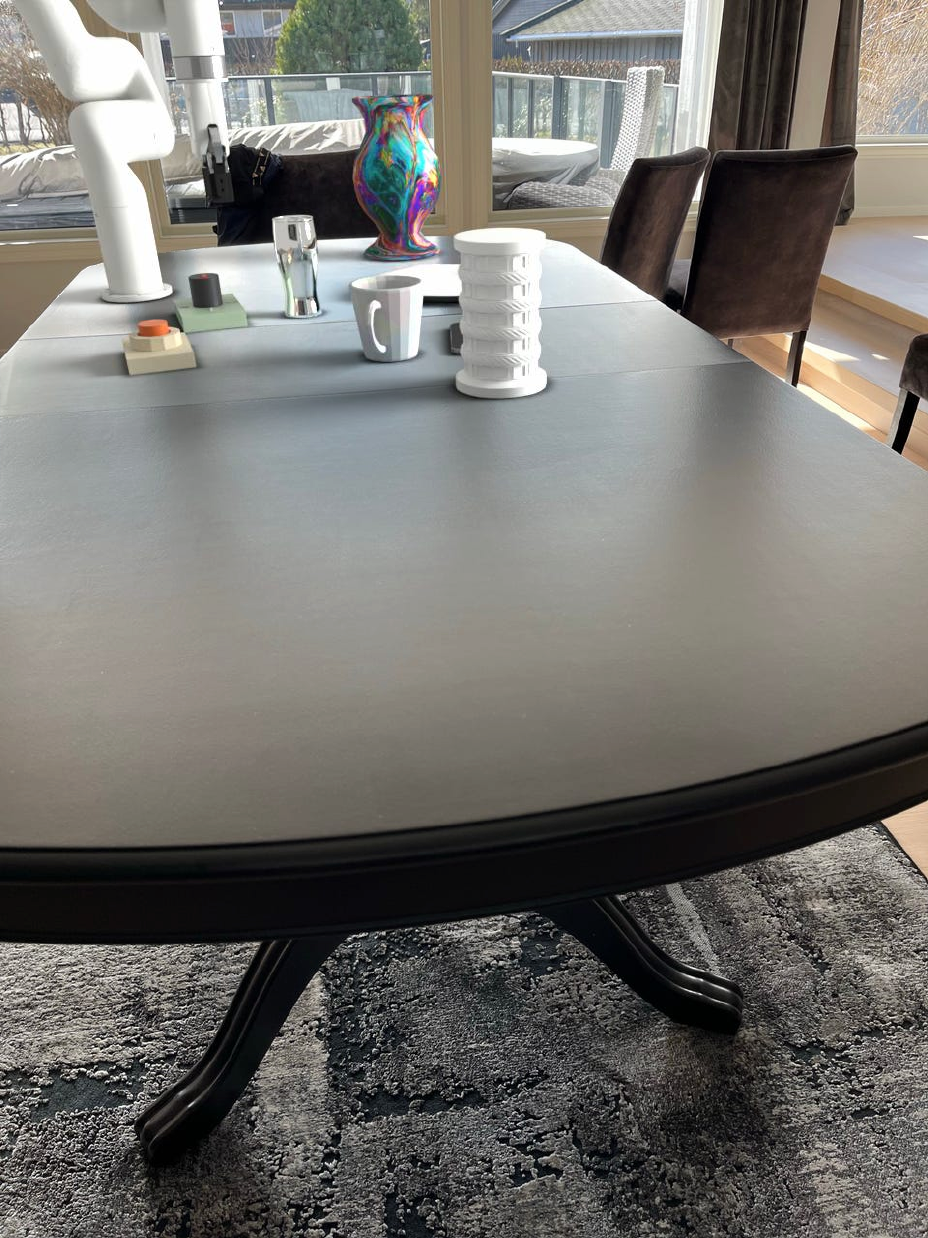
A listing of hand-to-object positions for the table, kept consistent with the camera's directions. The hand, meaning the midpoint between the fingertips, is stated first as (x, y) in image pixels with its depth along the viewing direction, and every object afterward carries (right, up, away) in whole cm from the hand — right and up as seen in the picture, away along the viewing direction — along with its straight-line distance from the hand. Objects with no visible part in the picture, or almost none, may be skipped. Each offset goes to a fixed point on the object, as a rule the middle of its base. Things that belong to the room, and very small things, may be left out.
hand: (219, 198), depth 146 cm
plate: (+34, -6, +25) cm, 43 cm away
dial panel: (-4, -16, +10) cm, 19 cm away
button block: (-6, -28, -11) cm, 31 cm away
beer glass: (+11, -14, +12) cm, 22 cm away
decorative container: (+43, -35, -25) cm, 61 cm away
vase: (+25, +13, +57) cm, 63 cm away
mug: (+27, -29, -14) cm, 42 cm away
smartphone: (+40, -24, -6) cm, 47 cm away
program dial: (-4, -14, +8) cm, 17 cm away
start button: (-6, -25, -13) cm, 29 cm away
